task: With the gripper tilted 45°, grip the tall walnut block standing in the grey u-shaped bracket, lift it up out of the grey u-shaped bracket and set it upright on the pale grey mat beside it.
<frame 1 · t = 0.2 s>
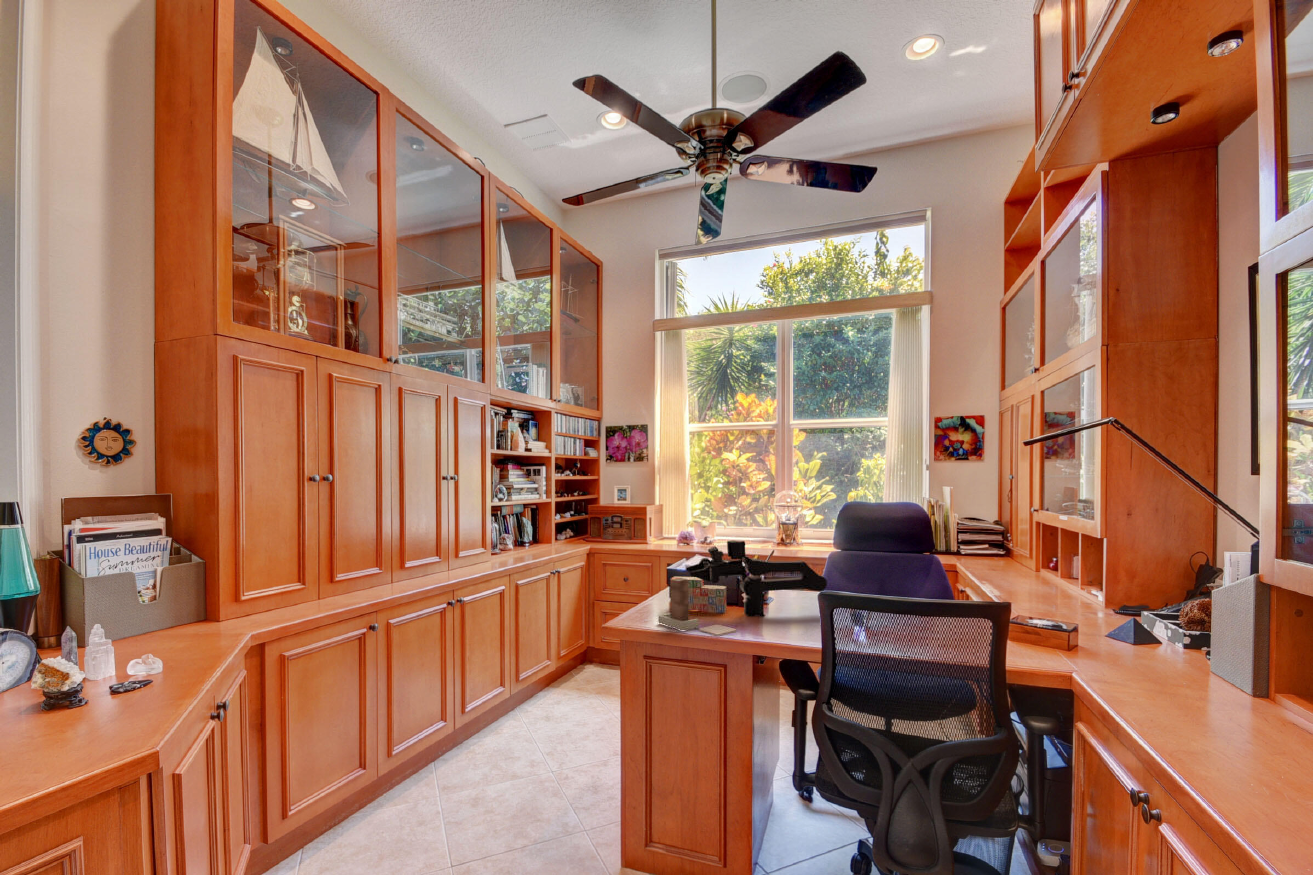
hand: (687, 571, 214), 17 cm above the table, tool horizontal, fingers open, 9 cm apart
grey u-shaped bracket: (679, 625, 200), on the table
walnut block: (679, 602, 200), in the grey u-shaped bracket
stack of blocks: (698, 610, 224), on the table
grey mat: (717, 630, 193), on the table
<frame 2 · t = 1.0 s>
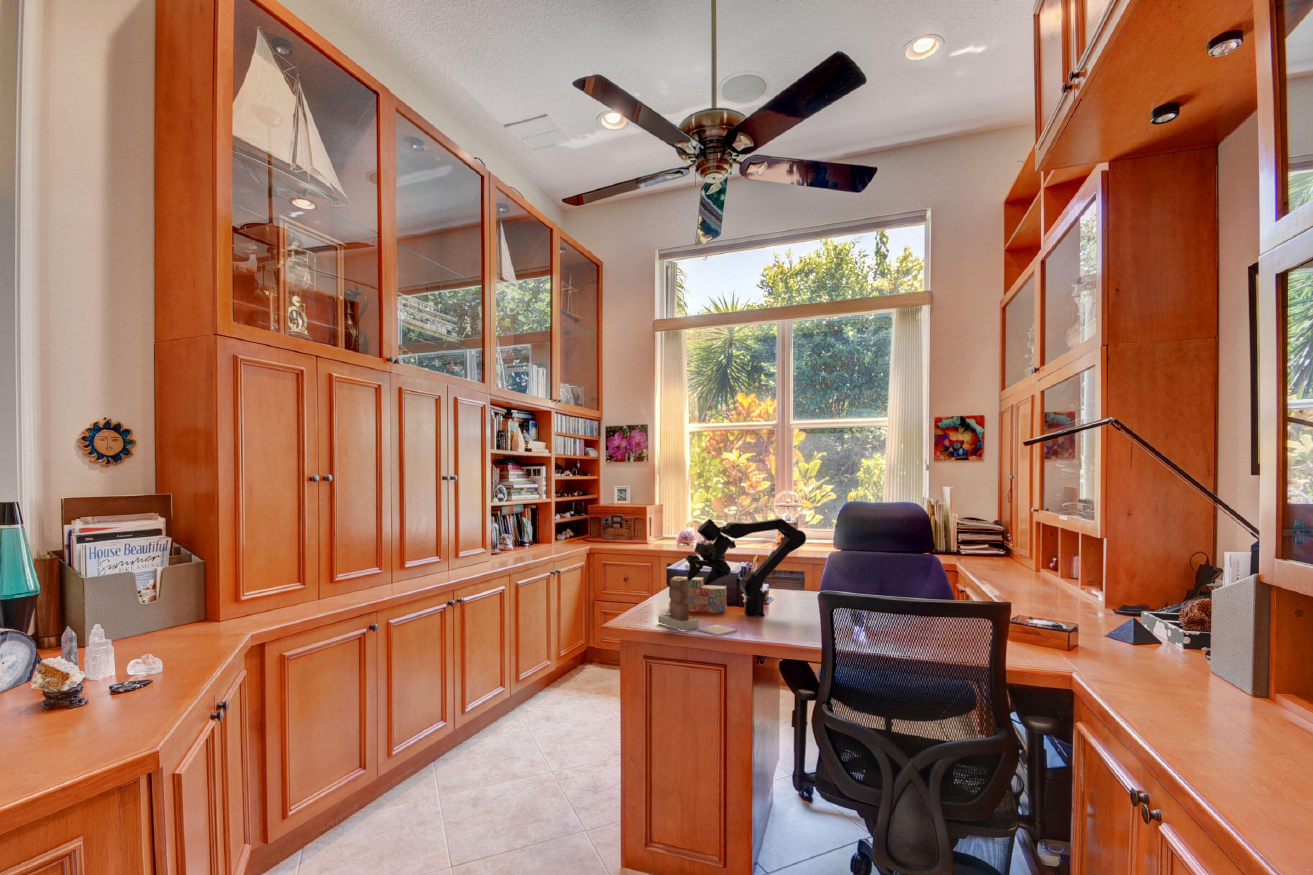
hand: (696, 582, 206), 14 cm above the table, tool tilted 45°, fingers open, 9 cm apart
nothing on the table moved.
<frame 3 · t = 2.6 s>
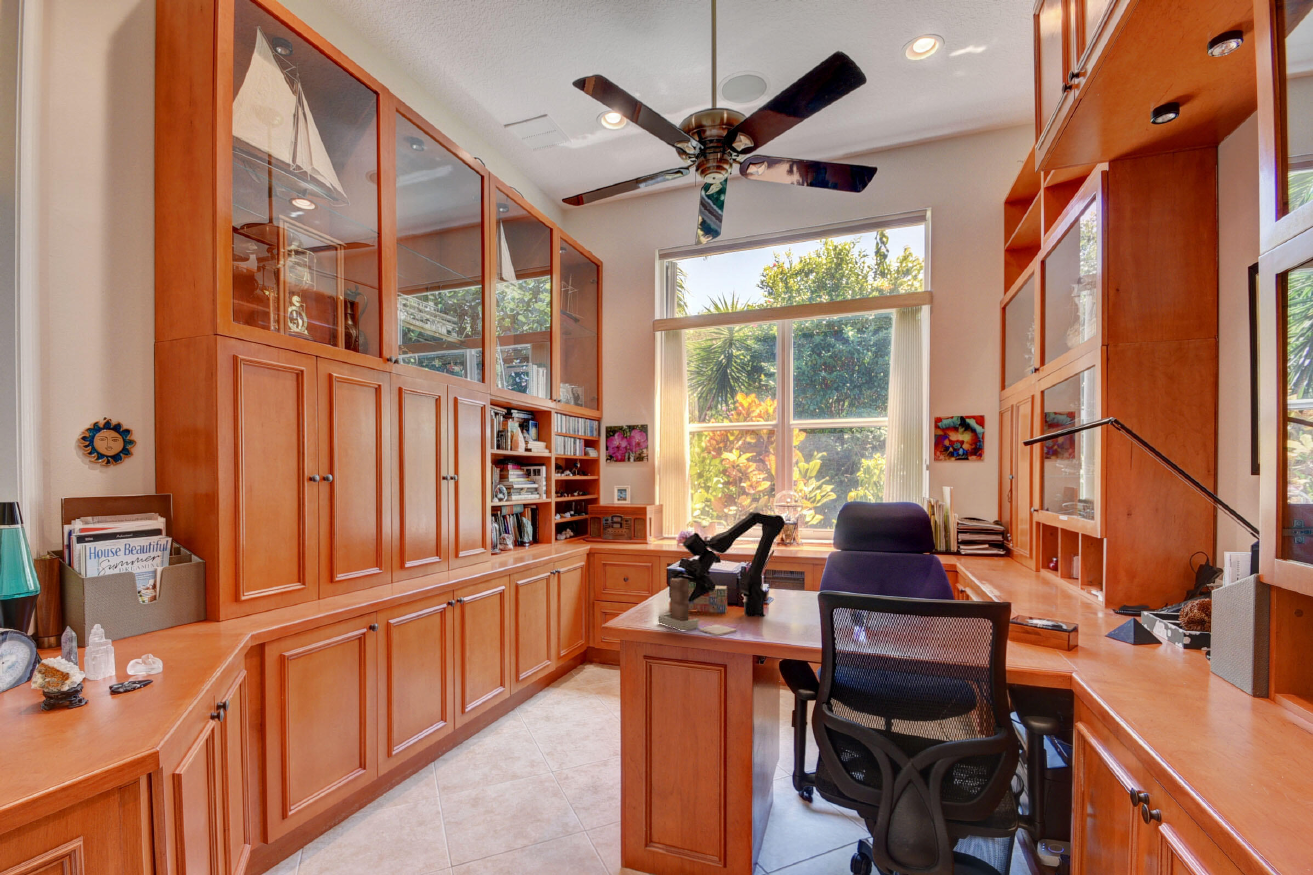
hand: (680, 599, 201), 9 cm above the table, tool tilted 45°, fingers open, 9 cm apart
nothing on the table moved.
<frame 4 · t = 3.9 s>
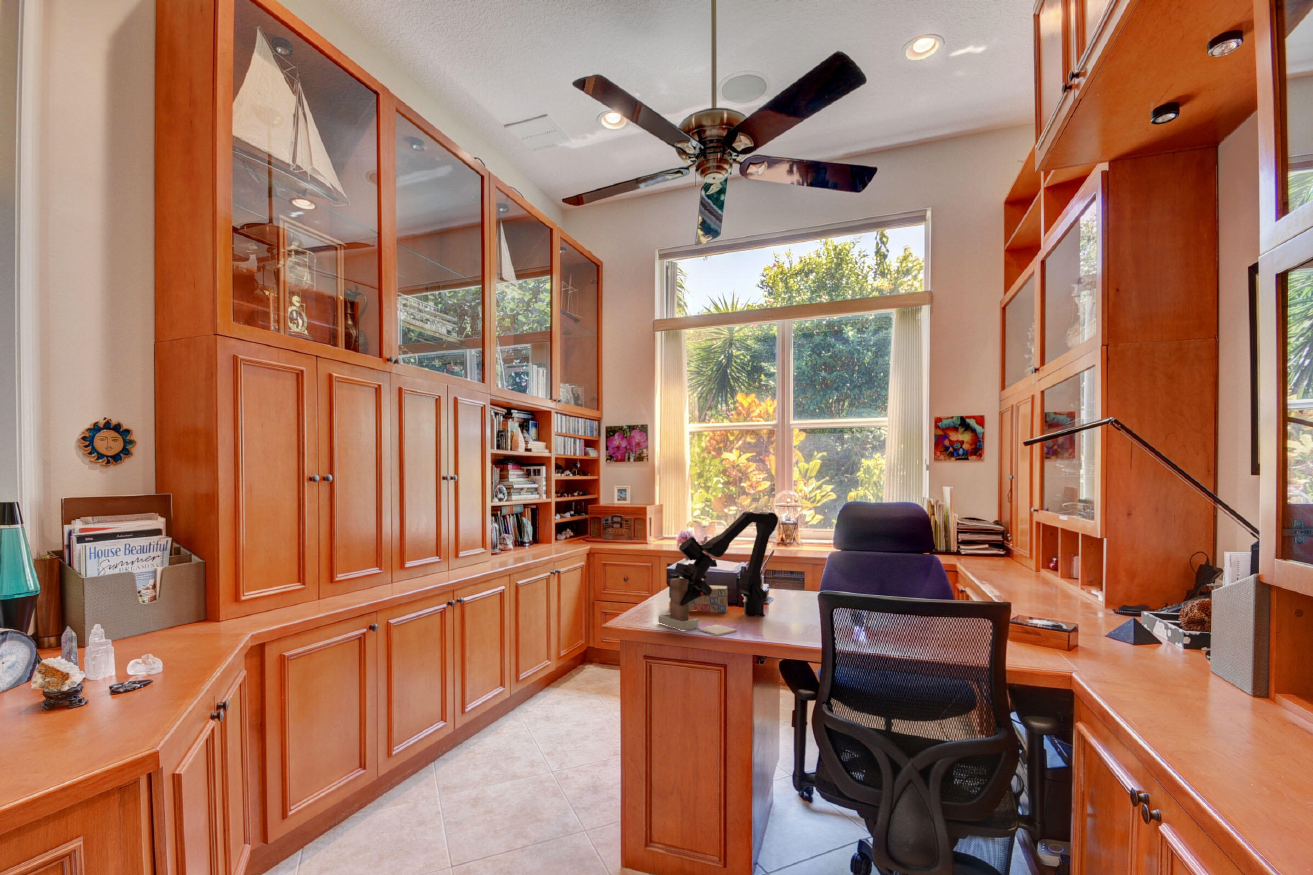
hand: (676, 604, 199), 8 cm above the table, tool tilted 45°, fingers closed on walnut block, 4 cm apart
walnut block: (679, 602, 200), in the grey u-shaped bracket, touching gripper
everything else where it was.
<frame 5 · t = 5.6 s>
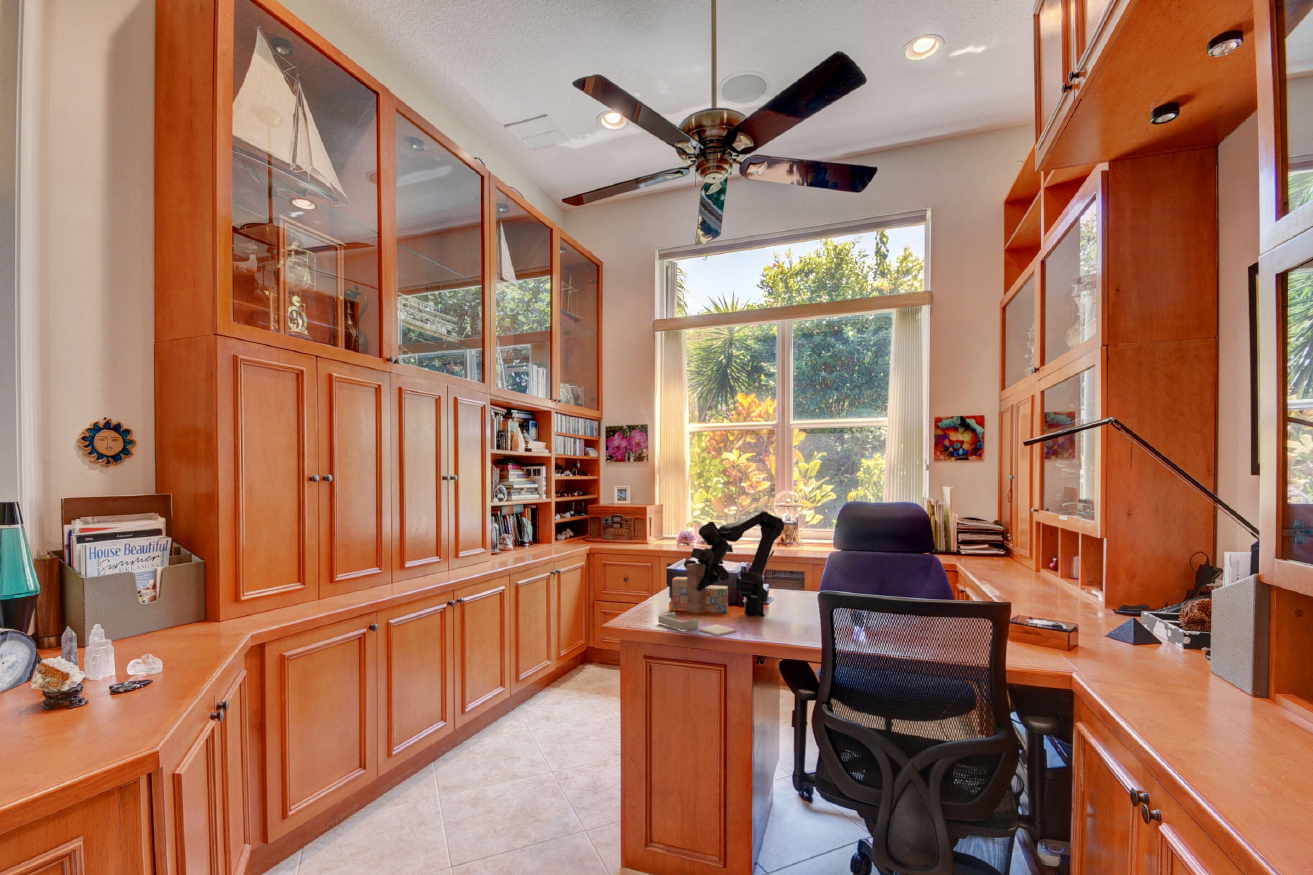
hand: (693, 589, 197), 13 cm above the table, tool tilted 45°, fingers closed on walnut block, 4 cm apart
walnut block: (696, 587, 198), point 14 cm above the table, touching gripper
everything else where it was.
when the fingers open (9 cm above the table, at t = 7.5 s): walnut block drops 1 cm, resting on grey mat.
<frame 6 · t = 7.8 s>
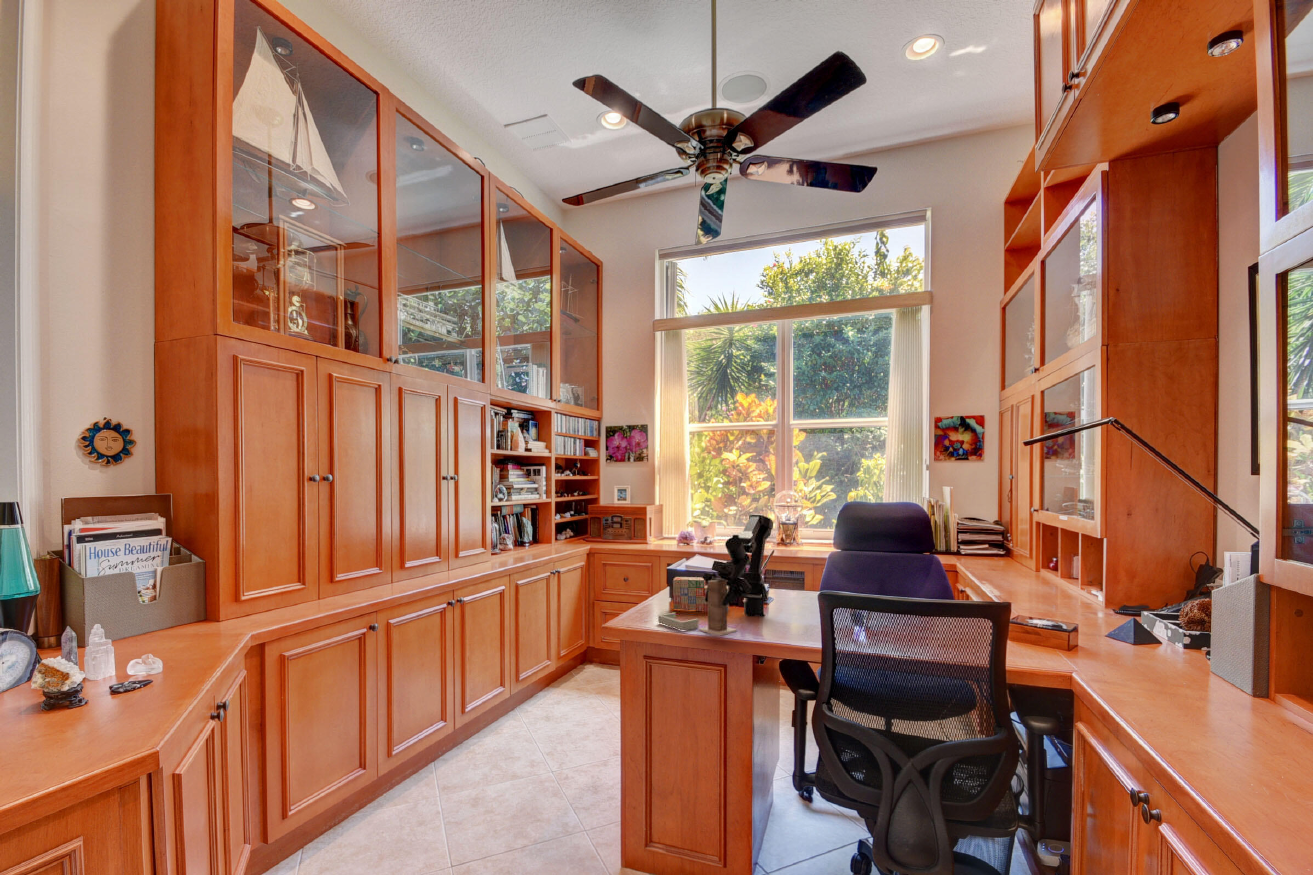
hand: (714, 603, 192), 9 cm above the table, tool tilted 45°, fingers open, 8 cm apart
walnut block: (717, 605, 193), on the grey mat, point 9 cm above the table
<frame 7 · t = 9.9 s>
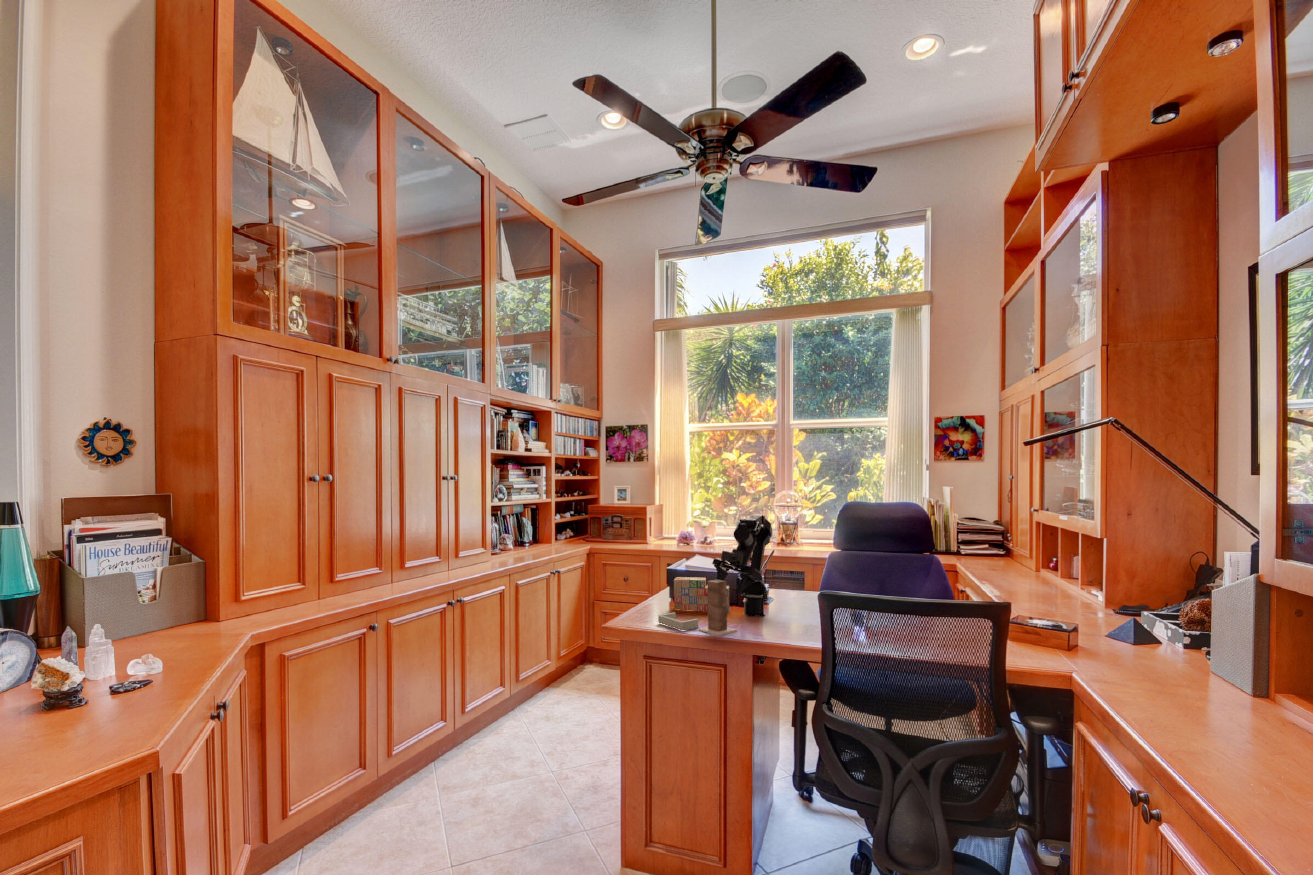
hand: (726, 590, 200), 12 cm above the table, tool tilted 30°, fingers open, 9 cm apart
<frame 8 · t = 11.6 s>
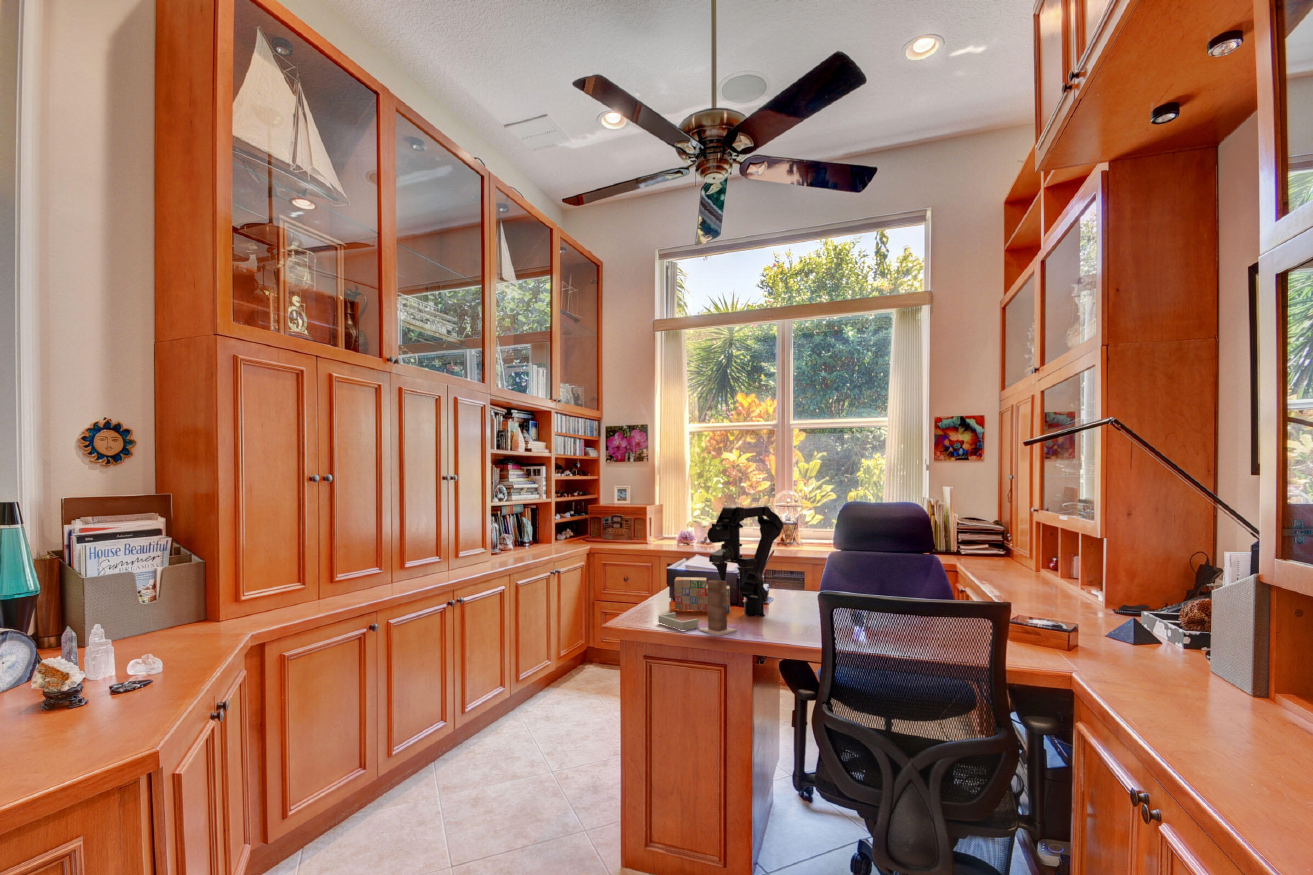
hand: (732, 584, 208), 13 cm above the table, tool pointing down, fingers open, 9 cm apart
at the end: walnut block 0.0 cm off-centre on the grey mat, point 8.6 cm above the grey mat's base; walnut block tilted 0°; the gripper is holding nothing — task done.
